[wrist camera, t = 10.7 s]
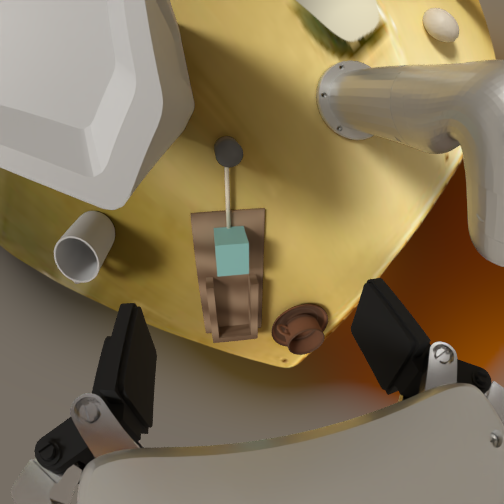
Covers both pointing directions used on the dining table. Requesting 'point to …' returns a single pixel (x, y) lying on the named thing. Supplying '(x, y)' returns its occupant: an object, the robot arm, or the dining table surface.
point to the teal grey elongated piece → (229, 238)
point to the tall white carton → (90, 93)
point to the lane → (230, 287)
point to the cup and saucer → (301, 328)
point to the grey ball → (441, 25)
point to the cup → (85, 246)
